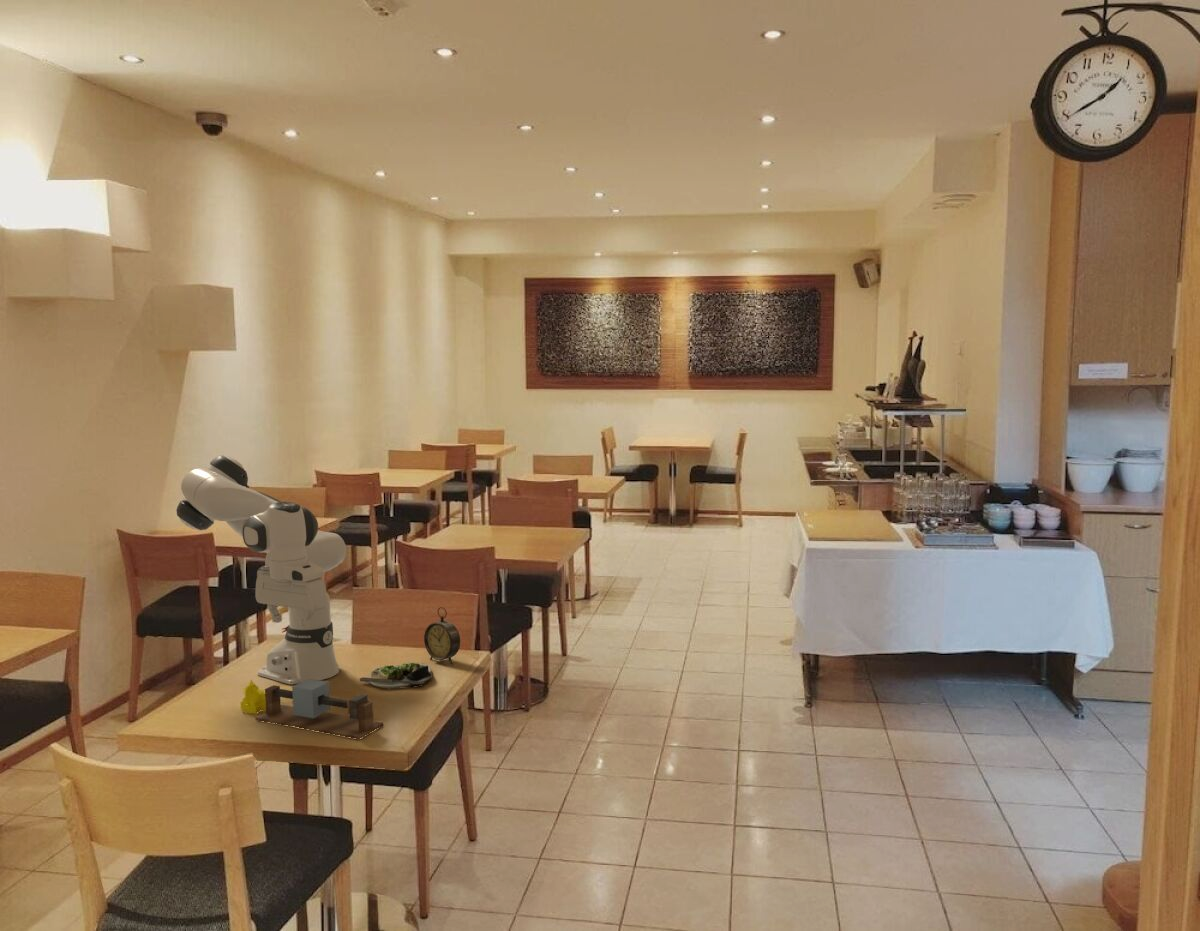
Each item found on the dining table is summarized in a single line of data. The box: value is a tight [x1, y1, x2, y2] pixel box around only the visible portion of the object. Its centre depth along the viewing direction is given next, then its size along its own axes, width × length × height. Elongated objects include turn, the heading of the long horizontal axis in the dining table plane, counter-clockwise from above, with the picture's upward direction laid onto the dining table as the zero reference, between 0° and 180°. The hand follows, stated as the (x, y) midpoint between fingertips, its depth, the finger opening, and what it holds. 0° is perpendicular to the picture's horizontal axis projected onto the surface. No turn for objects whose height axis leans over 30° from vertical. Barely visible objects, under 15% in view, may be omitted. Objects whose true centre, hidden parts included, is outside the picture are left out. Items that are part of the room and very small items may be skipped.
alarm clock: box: [423, 606, 461, 665], centre depth 270 cm, size 11×5×16 cm, turn 55°
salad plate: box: [359, 662, 433, 690], centre depth 256 cm, size 19×18×5 cm
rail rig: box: [255, 684, 384, 740], centre depth 226 cm, size 31×9×8 cm, turn 67°
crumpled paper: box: [240, 679, 266, 714], centre depth 236 cm, size 6×8×8 cm
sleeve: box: [291, 679, 331, 718], centre depth 227 cm, size 6×6×7 cm
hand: (291, 624), depth 229 cm, fingers open, 8 cm apart
